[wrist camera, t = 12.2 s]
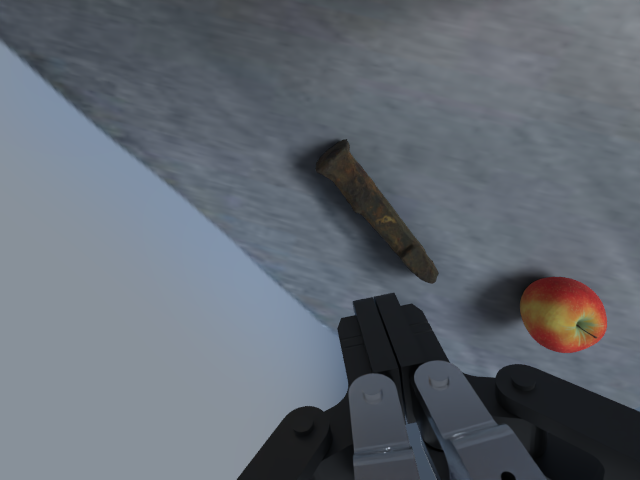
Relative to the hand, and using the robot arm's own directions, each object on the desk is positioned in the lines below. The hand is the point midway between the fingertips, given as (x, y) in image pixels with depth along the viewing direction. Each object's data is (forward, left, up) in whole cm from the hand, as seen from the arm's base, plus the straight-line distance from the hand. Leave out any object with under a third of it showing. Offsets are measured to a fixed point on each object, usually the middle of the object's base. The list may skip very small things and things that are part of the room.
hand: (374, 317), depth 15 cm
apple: (-24, +24, -29) cm, 45 cm away
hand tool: (-6, +9, -29) cm, 31 cm away
